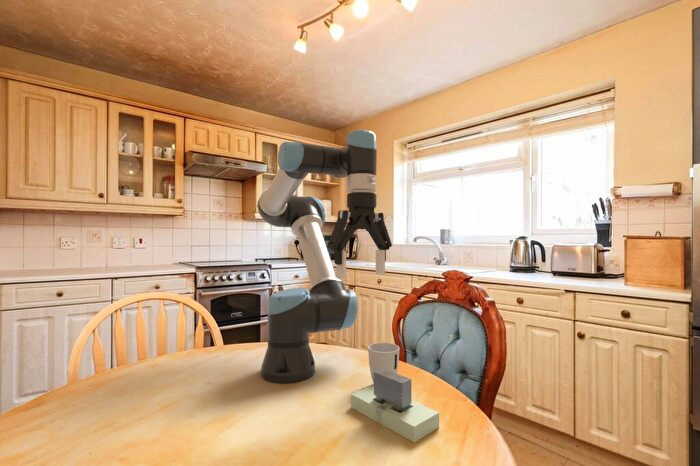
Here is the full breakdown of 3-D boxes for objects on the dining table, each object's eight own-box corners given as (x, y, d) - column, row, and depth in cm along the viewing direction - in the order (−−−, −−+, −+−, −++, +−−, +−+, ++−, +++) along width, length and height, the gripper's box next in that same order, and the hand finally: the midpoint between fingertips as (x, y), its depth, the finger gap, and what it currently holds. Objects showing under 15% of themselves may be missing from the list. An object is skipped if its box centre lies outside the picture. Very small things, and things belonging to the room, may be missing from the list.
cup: (398, 394, 85) (398, 353, 85) (365, 391, 87) (365, 351, 87) (400, 380, 93) (400, 343, 93) (370, 378, 95) (370, 341, 95)
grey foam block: (373, 413, 76) (373, 371, 76) (383, 408, 78) (382, 368, 78) (402, 427, 70) (402, 383, 70) (411, 422, 72) (411, 379, 72)
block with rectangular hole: (351, 407, 79) (351, 394, 79) (375, 396, 84) (375, 384, 84) (414, 442, 65) (414, 426, 65) (439, 427, 70) (439, 412, 70)
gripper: (332, 186, 77) (332, 281, 77) (404, 195, 94) (404, 273, 93) (313, 189, 83) (312, 278, 83) (384, 197, 99) (384, 271, 99)
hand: (361, 276), depth 88 cm, fingers open, 13 cm apart
